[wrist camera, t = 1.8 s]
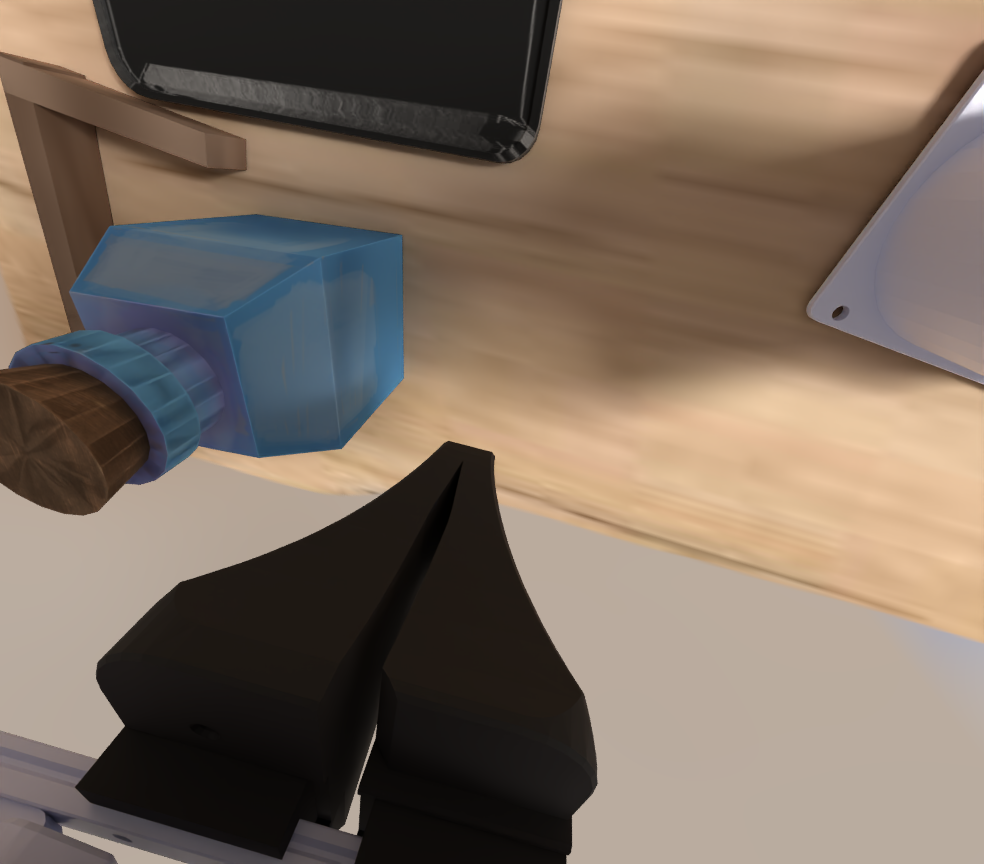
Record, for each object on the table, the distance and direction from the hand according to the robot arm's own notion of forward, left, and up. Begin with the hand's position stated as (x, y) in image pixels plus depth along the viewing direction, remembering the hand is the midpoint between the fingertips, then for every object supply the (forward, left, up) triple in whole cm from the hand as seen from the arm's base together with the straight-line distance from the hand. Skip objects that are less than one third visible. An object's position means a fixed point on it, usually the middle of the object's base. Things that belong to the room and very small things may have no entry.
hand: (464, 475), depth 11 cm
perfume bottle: (+8, 0, -8) cm, 12 cm away
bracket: (+15, 0, -8) cm, 17 cm away
